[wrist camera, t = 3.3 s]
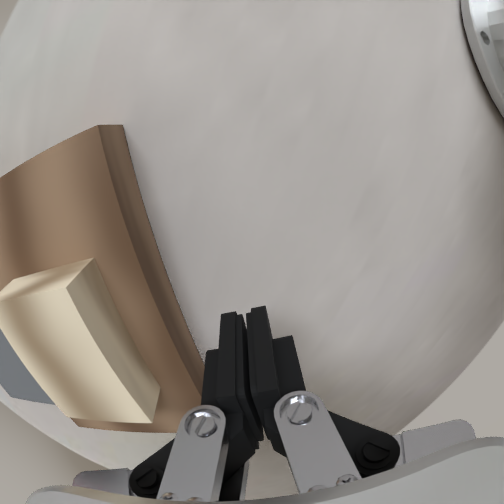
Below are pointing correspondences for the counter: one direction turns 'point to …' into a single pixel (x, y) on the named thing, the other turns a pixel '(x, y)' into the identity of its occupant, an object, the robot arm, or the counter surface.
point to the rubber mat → (18, 376)
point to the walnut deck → (103, 255)
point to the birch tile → (78, 344)
